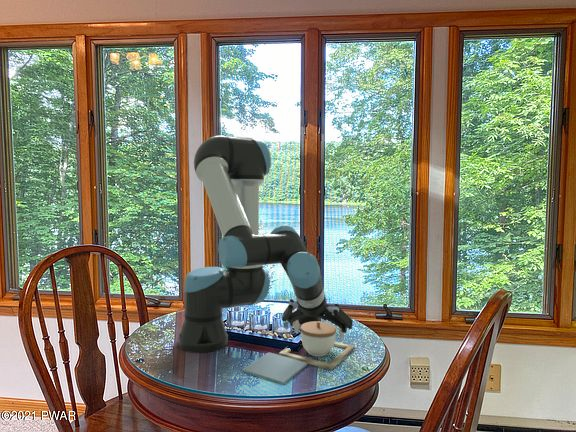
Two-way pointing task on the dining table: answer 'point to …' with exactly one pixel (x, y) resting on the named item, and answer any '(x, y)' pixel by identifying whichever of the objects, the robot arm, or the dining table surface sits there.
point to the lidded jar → (318, 337)
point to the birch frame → (317, 363)
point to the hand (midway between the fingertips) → (319, 332)
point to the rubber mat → (275, 367)
